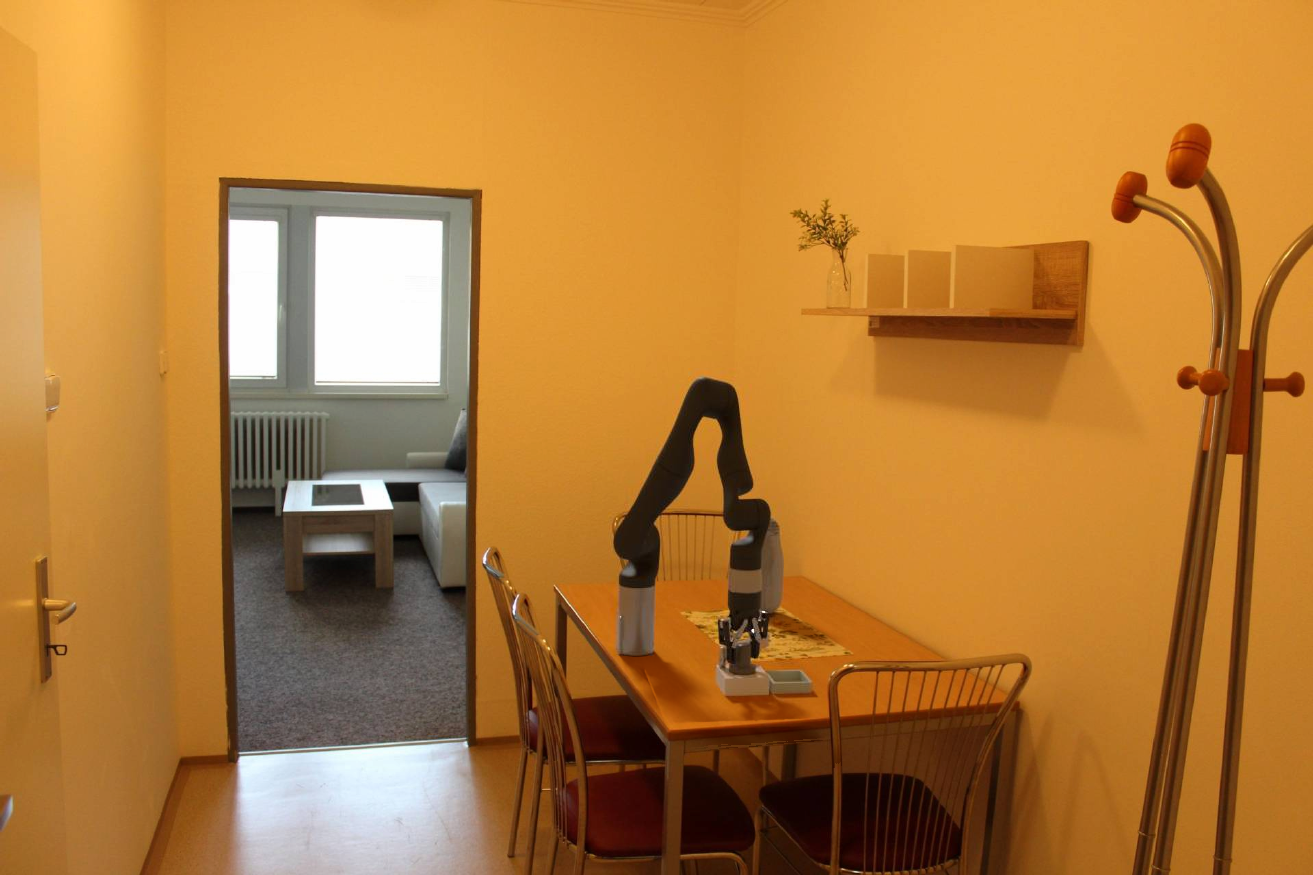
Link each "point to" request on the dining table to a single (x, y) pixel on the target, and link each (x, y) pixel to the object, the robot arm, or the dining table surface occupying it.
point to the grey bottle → (772, 569)
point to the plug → (743, 661)
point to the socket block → (742, 682)
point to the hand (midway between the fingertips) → (742, 660)
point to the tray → (789, 682)
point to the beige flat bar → (722, 649)
